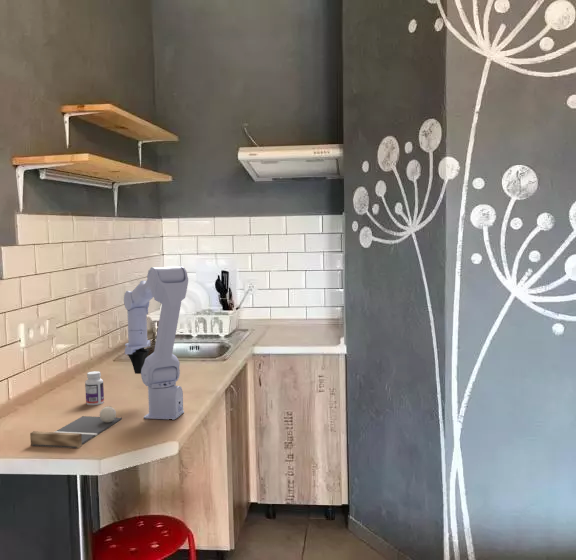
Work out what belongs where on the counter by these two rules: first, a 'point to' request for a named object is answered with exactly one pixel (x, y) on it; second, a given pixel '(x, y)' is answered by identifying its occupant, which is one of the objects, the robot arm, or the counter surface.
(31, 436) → the backstop rail
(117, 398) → the counter surface
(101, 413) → the ball
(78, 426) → the lane
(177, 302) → the robot arm
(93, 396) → the pill bottle
